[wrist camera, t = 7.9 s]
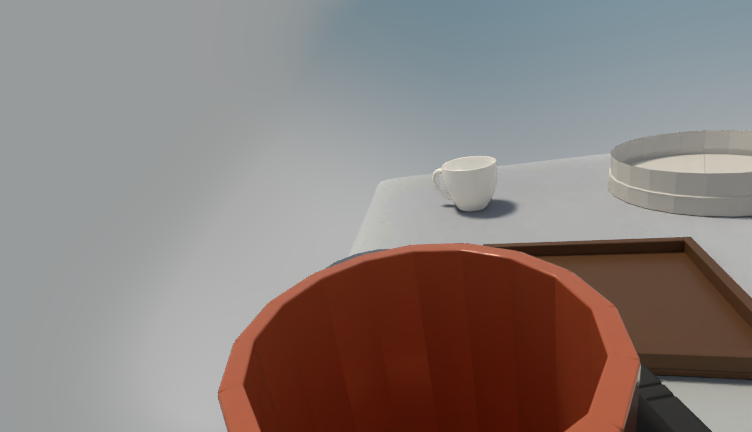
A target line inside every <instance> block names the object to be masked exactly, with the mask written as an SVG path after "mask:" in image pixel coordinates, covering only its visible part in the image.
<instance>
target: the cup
mask: <svg viewBox="0 0 752 432" xmlns="http://www.w3.org/2000/svg"><path fill="white" fill-rule="evenodd" d="M439 174H443V180H444V185H445V188H446V191H447V192H446V191H445V190H444V189H443V188H442V186H441V185H440V183H439V179H438V178H439ZM432 182H433V186H434V187H435V189H436V190H437V192H438V193H439V194H440V195H442V196H443V197H444V198H446V199H448V200H452V201H453V203H454V204H455V205H456V206H457V207H458V208H459V209H460V210H462V211H478V210H482V209H484V208H485V207H486V206H487V205H488V203H489V202H490V200H491V198H492V196H493V193H494V191H495V187H496V183H497V162H496V159H494V158H492V157H488V156H470V157H463V158H458V159H454V160H451V161H448V162H446V163H444V164H443V165H442V168H439V169H437V170H435V171H434V173H433V176H432Z"/></svg>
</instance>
